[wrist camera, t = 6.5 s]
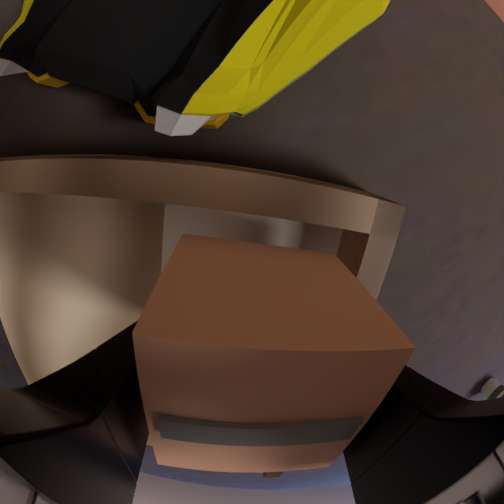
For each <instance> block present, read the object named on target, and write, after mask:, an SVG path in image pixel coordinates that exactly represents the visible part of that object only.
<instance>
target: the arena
mask: <svg viewBox="0 0 504 504" xmlns="http://www.w3.org/2000/svg"><path fill="white" fill-rule="evenodd" d="M405 208H406V206H403V205H401V204H398V203H396V202H393V201H391V200H388V199H386V198H383V197H380V196H378V195H375V194H372V193H370V192H367V191H363V190H359V189H355V188H350V187H346V186H342V185H338V184H333V183H329V182H324V181H320V180H315V179H310V178H305V177H300V176H295V175H290V174H284V173H279V172H273V171H267V170H261V169H255V168H248V167H242V166H235V165H227V164H220V163H212V162H203V161H194V160H185V159H174V158H162V157H148V156H131V155H105V154H55V155H31V156H15V157H4V158H0V318H1V321H2V324H3V327H4V330H5V333H6V335H7V338H8V341H9V343H10V346H11V348H12V350H13V353H14V355H15V358H16V360H17V362H18V364H19V366H20V369H21V371H22V373H23V375H24V377H25V379H26V381H27V383H28V385H29V384H32V383H34V382H36V381H38V380H40V379H42V378H44V377H46V376H47V375H49V374H51V373H53V372H55V371H57V370H59V369H61V368H63V367H65V366H67V365H69V364H70V363H72V362H74V361H76V360H77V359H79V358H81V357H82V356H84V355H85V354H87V353H89V352H90V351H92V350H93V349H96V347H98V346H99V345H101V344H102V343H104V342H105V341H107V340H108V339H110V338H111V337H113V336H114V335H116V334H117V333H119V332H121V331H122V330H124V329H125V328H127V327H128V326H130V325H131V324H133V323H134V322H136V321H137V320H138V319H139V317H140V315H141V313H142V311H143V309H144V307H145V305H146V303H147V301H148V299H149V297H150V295H151V293H152V291H153V289H154V287H155V285H156V283H157V281H158V279H159V277H160V275H161V273H162V271H163V269H164V268H165V266H166V264H167V262H168V260H169V258H170V256H171V254H172V253H173V251H174V249H175V247H176V245H177V243H178V242H179V240H180V238H181V236H182V234H189V235H197V236H205V237H212V238H220V239H228V240H236V241H244V242H251V243H259V244H266V245H274V246H281V247H289V248H296V249H304V250H311V251H318V252H325V253H333V254H335V255H336V256H337V257H338V258H339V259H340V260H341V262H342V263H343V264H344V265H345V266H346V267H347V268H348V269H349V270H350V271H351V273H352V274H353V275H354V276H355V277H356V278H357V279H358V280H359V282H360V283H361V284H362V285H363V286H364V287H365V288H366V289H367V291H368V292H369V293H370V294H371V295H372V296H373V298H374V299H375V300H377V297H378V294H379V292H380V289H381V286H382V284H383V281H384V278H385V275H386V272H387V269H388V266H389V263H390V260H391V257H392V254H393V251H394V247H395V244H396V241H397V237H398V234H399V230H400V227H401V223H402V219H403V215H404V212H405ZM146 445H150V446H153V445H152V441H151V437H150V433H149V437H148V440H147V444H146ZM283 472H284V471H280V472H263V475H264V478H274V477H280V476H281V474H282V473H283Z"/></svg>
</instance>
